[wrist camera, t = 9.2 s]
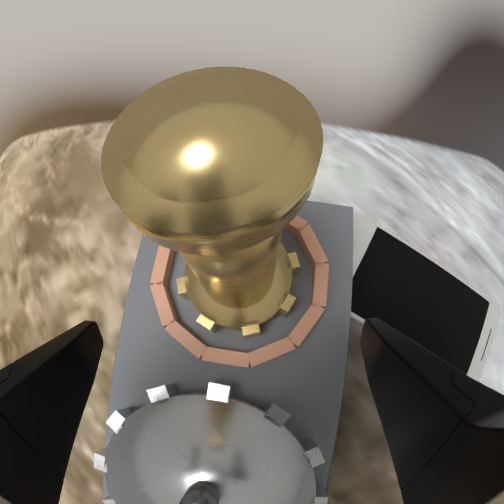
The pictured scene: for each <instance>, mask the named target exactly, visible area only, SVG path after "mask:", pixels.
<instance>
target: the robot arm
mask: <svg viewBox="0 0 504 504" xmlns="http://www.w3.org/2000/svg"><path fill="white" fill-rule="evenodd" d="M360 344H361V349H362V354H363V358H364V363H365V368H366V372H367V377H368V382H369V385H370V388H371V391H372V395H373V398H374V401H375V404H376V407H377V410H378V413H379V416H380V419H381V423H382V426H383V429H384V432H385V436H386V439H387V442H388V446H389V449H390V453H391V456H392V460H393V463H394V467H395V471H396V474H397V478H398V482H399V486H400V490H401V494H402V498H403V502H404V504H504V395H502V394H500V393H498V392H497V391H495V390H493V389H491V388H489V387H487V386H485V385H483V384H481V383H480V382H478V381H476V380H474V379H472V378H471V377H469V376H468V375H466V374H464V373H463V372H461V371H459V370H458V369H456V368H455V367H452V366H451V365H450V364H449V363H447V362H445V361H444V360H442V359H441V358H439V357H438V356H436V355H435V354H433V353H431V352H430V351H428V350H427V349H425V348H424V347H422V346H421V345H419V344H417V343H416V342H414V341H413V340H411V339H410V338H408V337H406V336H405V335H403V334H402V333H400V332H399V331H397V330H395V329H394V328H392V327H391V326H389V325H388V324H386V323H384V322H383V321H381V320H380V319H378V318H371V319H366V320H365V322H364V325H363V330H362V334H361V339H360ZM102 349H103V338H102V336H101V333H100V330H99V327H98V325H97V323H96V322H95V321H87V320H86V321H83V322H82V323H80V324H78V325H76V326H75V327H73V328H71V329H69V330H68V331H66V332H64V333H62V334H61V335H59V336H57V337H55V338H54V339H52V340H50V341H49V342H47V343H45V344H43V345H42V346H40V347H38V348H37V349H35V350H33V351H31V352H30V353H28V354H26V355H25V356H23V357H21V358H20V359H18V360H16V361H14V362H13V363H11V364H9V365H8V366H6V367H4V368H3V369H1V370H0V504H58V503H59V499H60V494H61V490H62V486H63V481H64V480H63V479H64V477H65V473H66V469H67V465H68V461H69V458H70V454H71V451H72V447H73V444H74V440H75V437H76V434H77V430H78V427H79V424H80V421H81V418H82V415H83V412H84V409H85V406H86V403H87V400H88V397H89V394H90V391H91V388H92V386H93V382H94V379H95V376H96V372H97V368H98V364H99V360H100V356H101V352H102Z"/></svg>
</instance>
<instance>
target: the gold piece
mask: <svg viewBox="0 0 504 504" xmlns="http://www.w3.org/2000/svg"><path fill="white" fill-rule="evenodd" d="M322 147H323V131H322V126H321V122H320V120H319V117H318V115H317V113H316V111H315V109H314V108H313V106H312V105H311V103H310V102H309V101H308V100H307V98H306V97H305V96H304V95H303V94H302V93H301V92H299V91H298V90H297V89H296V88H295V87H293V86H291V85H290V84H288V83H287V82H285V81H283V80H281V79H279V78H277V77H275V76H272V75H270V74H267V73H264V72H261V71H256V70H252V69H246V68H239V67H214V68H213V67H212V68H204V69H198V70H193V71H189V72H186V73H182V74H179V75H176V76H174V77H171V78H169V79H166V80H164V81H162V82H160V83H159V84H156V85H155V86H153V87H151V88H149V89H148V90H146V91H145V92H144V93H142V94H141V95H139V96H138V97H137V98H136V99H134V100H133V101H132V102H131V103H130V104H129V105H128V106H127V107H126V108H125V109H124V110H123V111H122V113H121V114H120V115H119V116H118V118H117V119H116V120H115V122H114V124H113V125H112V127H111V129H110V131H109V133H108V135H107V137H106V140H105V143H104V146H103V151H102V157H101V170H102V175H103V180H104V183H105V185H106V188H107V190H108V192H109V193H110V195H111V197H112V198H113V200H114V201H115V202H116V204H117V205H118V206H119V207H120V209H121V210H122V211H123V212H124V214H125V215H126V216H127V217H128V219H129V220H130V221H131V222H132V224H133V225H134V226H135V227H136V228H137V229H138V230H139V231H140V232H141V233H142V234H143V235H145V236H146V237H147V238H148V239H150V240H151V241H153V242H155V243H157V244H159V245H160V246H163V247H165V248H168V249H171V250H173V251H177V252H180V254H181V255H182V257H183V258H184V260H185V261H186V265H185V272H184V277H181V278H177V279H176V281H177V288H178V294H179V295H180V296H181V297H182V298H183V299H185V300H186V301H187V300H191V302H192V304H193V305H194V306H195V308H196V309H197V310H198V311H199V312H200V313H201V314H200V316H199V317H198V319H197V320H196V321H197V322H198V323H200V324H201V325H203V326H204V327H206V328H207V329H209V330H210V331H212V332H213V333H215V332H216V330H217V329H218V327H222V328H224V329H228V330H234V331H242V332H243V336H244V338H245V339H246V338H250V337H254V336H259V335H260V329H259V327H260V326H262V325H264V324H266V323H267V322H269V321H270V320H271V319H272V318H274V317H275V316H276V315H277V313H279V314H280V315H282V316H284V317H285V316H286V315H287V313H288V311H289V310H290V308H291V306H292V305H293V303H294V301H295V299H296V297H294V296H292V295H290V294H289V291H290V288H291V283H292V277H293V276H296V275H297V273H298V270H299V268H300V264H299V261H298V257H297V254H296V252H292V253H287V252H286V250H285V248H284V247H283V245H282V244H281V243H280V239H281V233H282V229H283V228H284V227H286V226H287V225H288V224H289V223H290V222H291V221H292V220H293V219H294V218H295V217H296V216H297V215H298V213H299V212H300V210H301V209H302V208H303V206H304V205H305V203H306V201H307V199H308V197H309V195H310V193H311V190H312V187H313V184H314V180H315V176H316V173H317V169H318V165H319V161H320V158H321V154H322Z"/></svg>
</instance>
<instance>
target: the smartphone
mask: <svg viewBox="0 0 504 504" xmlns="http://www.w3.org/2000/svg"><path fill="white" fill-rule="evenodd" d="M499 313H500V309H499V307H498V306H497V305H496V304H495V303H494V302H492V301H491V300H490V299H489V298H487V297H486V296H485V295H483V294H482V293H481V292H479V291H478V290H477V289H475V288H474V287H472V286H471V285H470V284H468V283H467V282H466V281H464V280H463V279H461V278H460V277H459V276H457V275H456V274H454V273H453V272H451V271H450V270H449V269H447V268H446V267H444V266H443V265H441V264H440V263H438V262H437V261H435V260H434V259H432V258H431V257H429V256H428V255H426V254H425V253H423V252H422V251H420V250H419V249H417V248H416V247H414V246H413V245H411V244H410V243H408V242H406V241H405V240H403V239H402V238H400V237H398V236H397V235H395V234H394V233H392V232H390V231H389V230H387V229H385V228H384V227H382V226H381V225H379V224H377V223H376V222H374V221H372V220H370V219H369V218H367V217H365V216H364V215H362V214H359V213H354V214H353V279H352V301H351V319H353V320H355V321H356V322H358V323H360V324H362V325H364V322H365V320H366V319H371V318H378V319H380V320H381V321H383V322H384V323H386V324H388V325H389V326H391V327H392V328H394V329H395V330H397V331H399V332H400V333H402V334H403V335H405V336H406V337H408V338H410V339H411V340H413V341H414V342H416V343H417V344H419V345H421V346H422V347H424V348H425V349H427V350H428V351H430V352H431V353H433V354H435V355H436V356H438V357H439V358H441V359H442V360H444V361H445V362H447V363H449V364H450V365H451V366H452V367H455V368H456V369H458V370H459V371H461V372H463V373H464V374H466V375H468V376H469V377H471V378H472V379H474V380H476V381H479V378H480V376H481V373H482V370H483V367H484V364H485V362H486V359H487V356H488V353H489V349H490V346H491V343H492V340H493V336H494V333H495V329H496V325H497V321H498V318H499Z"/></svg>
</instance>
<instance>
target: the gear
mask: <svg viewBox="0 0 504 504" xmlns="http://www.w3.org/2000/svg"><path fill="white" fill-rule="evenodd" d="M232 389H233V383H226V382H220V381H212V382H209V386H208V392H191V393H182V394H179V393H178V390H177V388H176V385H175V383H172V384H167V385H163V386H160V387H156V388H153V389H150V390H147V392H148V395H149V398H150V400H151V403H150V404H148V405H146V406H144V407H142V408H140V409H138V410H136V411H134V410H133V409H132V408H130V407H127V408H123V409H119V410H116V411H115V412H114V413H113V414H112V416H111V417H110V418H109V419H108V420H107V422H106V423H107V424H108V425H109V426H110V427H111V428H112V429H113V430H114V431H115V432H114V434H113V435H112V437H111V439H110V442H109V444H108V447H106V448H104V449H102V450H100V451H97V452H95V453H94V468H96V469H98V470H101V471H103V472H104V475H105V481H106V486H107V489H108V492H109V495H108V496H107V497H106V498H104V499H103V502H104V504H327V501H328V495H327V493H326V492H325V490H324V488H323V486H322V485H316V481H315V475H314V471H313V467H316V466H318V465H320V464H323V463H325V460H324V458H323V456H322V454H321V452H320V449H319V447H318V446H317V444H316V443H315V442H314V440H313V439H312V438H311V439H308V440H306V441H304V442H301V443H300V442H299V440H298V439H297V437H296V436H295V435H294V433H293V432H292V431H291V430H290V429H289V428H288V427H287V426H286V425H285V424H284V423H285V422H286V421H287V419H288V418H289V417H290V416H291V415H290V413H289V412H288V410H287V409H286V408H284V407H283V406H281V405H280V404H278V403H277V402H276V401H274V400H273V399H272V400H271V401H270V402H269V403H268V405H267V406H266V407H265V408H262V407H261V406H259V405H256V404H254V403H252V402H250V401H247V400H244V399H242V398H239V397H236V396H232Z"/></svg>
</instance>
